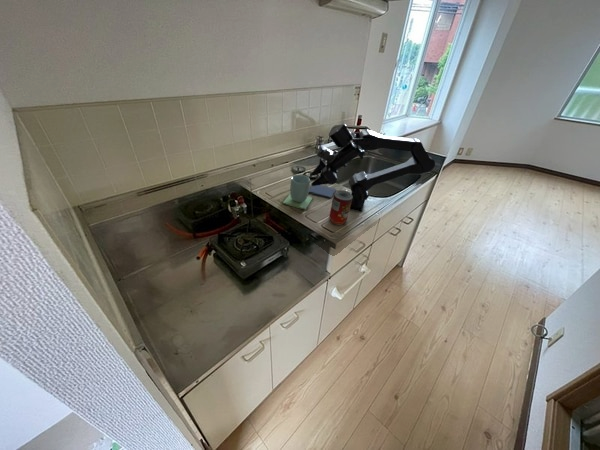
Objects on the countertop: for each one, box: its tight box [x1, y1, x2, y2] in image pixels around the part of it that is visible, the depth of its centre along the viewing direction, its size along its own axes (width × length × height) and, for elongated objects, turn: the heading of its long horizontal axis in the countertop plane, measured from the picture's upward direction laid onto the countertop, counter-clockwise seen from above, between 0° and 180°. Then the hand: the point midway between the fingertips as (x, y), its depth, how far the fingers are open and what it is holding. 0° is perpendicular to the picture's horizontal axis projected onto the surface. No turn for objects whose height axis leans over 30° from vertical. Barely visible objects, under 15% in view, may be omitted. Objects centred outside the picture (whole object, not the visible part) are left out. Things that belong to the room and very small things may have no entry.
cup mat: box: [282, 194, 313, 211], centre depth 103 cm, size 10×10×1 cm
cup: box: [289, 174, 311, 202], centre depth 100 cm, size 8×8×10 cm
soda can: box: [329, 189, 353, 226], centre depth 91 cm, size 7×7×12 cm
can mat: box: [308, 184, 336, 199], centre depth 113 cm, size 11×9×1 cm
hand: (311, 179), depth 97 cm, fingers open, 9 cm apart
